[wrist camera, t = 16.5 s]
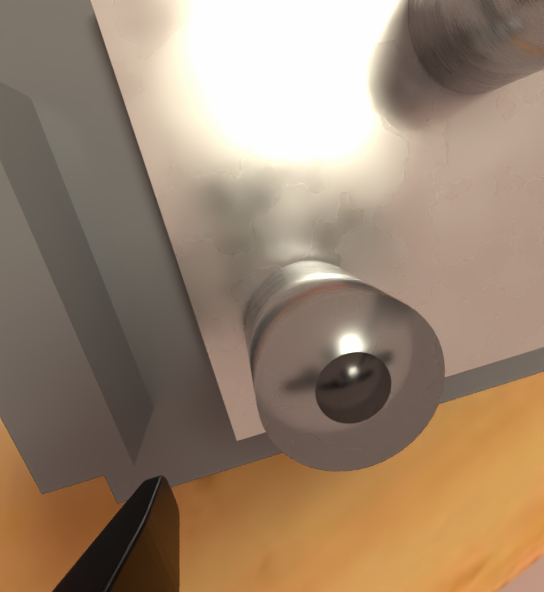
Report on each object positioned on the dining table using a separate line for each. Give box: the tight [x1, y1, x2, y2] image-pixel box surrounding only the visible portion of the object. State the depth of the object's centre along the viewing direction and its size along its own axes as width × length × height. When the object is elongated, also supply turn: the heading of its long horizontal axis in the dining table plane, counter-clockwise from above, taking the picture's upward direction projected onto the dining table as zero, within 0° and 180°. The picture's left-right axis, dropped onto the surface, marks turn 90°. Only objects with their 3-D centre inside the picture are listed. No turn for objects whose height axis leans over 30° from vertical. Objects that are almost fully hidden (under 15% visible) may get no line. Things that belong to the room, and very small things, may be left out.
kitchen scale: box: [0, 0, 544, 504], centre depth 13 cm, size 24×20×6 cm
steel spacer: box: [244, 261, 445, 471], centre depth 12 cm, size 5×5×5 cm
